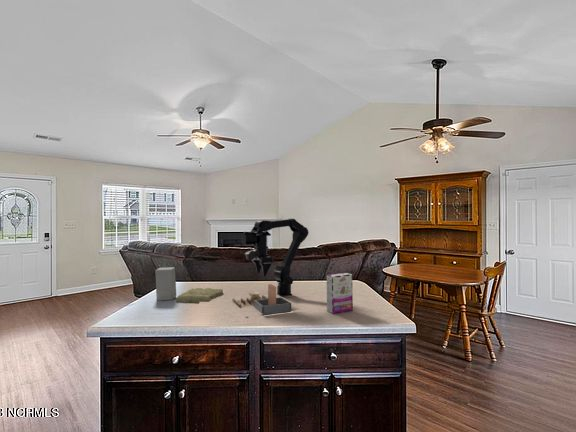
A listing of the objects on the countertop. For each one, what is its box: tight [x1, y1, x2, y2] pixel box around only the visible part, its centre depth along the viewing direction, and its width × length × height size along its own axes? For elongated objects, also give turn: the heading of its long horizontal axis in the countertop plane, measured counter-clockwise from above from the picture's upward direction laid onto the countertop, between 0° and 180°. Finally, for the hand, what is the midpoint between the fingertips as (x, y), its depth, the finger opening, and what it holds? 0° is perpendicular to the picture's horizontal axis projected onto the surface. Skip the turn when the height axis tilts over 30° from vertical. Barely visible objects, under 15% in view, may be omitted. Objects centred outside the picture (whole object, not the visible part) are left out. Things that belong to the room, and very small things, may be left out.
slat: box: [267, 284, 277, 305], centre depth 146 cm, size 1×6×10 cm, turn 25°
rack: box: [232, 295, 268, 308], centre depth 156 cm, size 16×12×2 cm
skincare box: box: [155, 266, 177, 301], centre depth 165 cm, size 8×7×16 cm
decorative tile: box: [175, 287, 224, 303], centre depth 168 cm, size 19×20×4 cm
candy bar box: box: [326, 272, 354, 315], centre depth 144 cm, size 11×5×16 cm, turn 117°
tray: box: [253, 296, 292, 316], centre depth 145 cm, size 14×12×4 cm
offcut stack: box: [248, 291, 262, 304], centre depth 156 cm, size 4×5×4 cm
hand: (261, 274), depth 167 cm, fingers open, 9 cm apart
